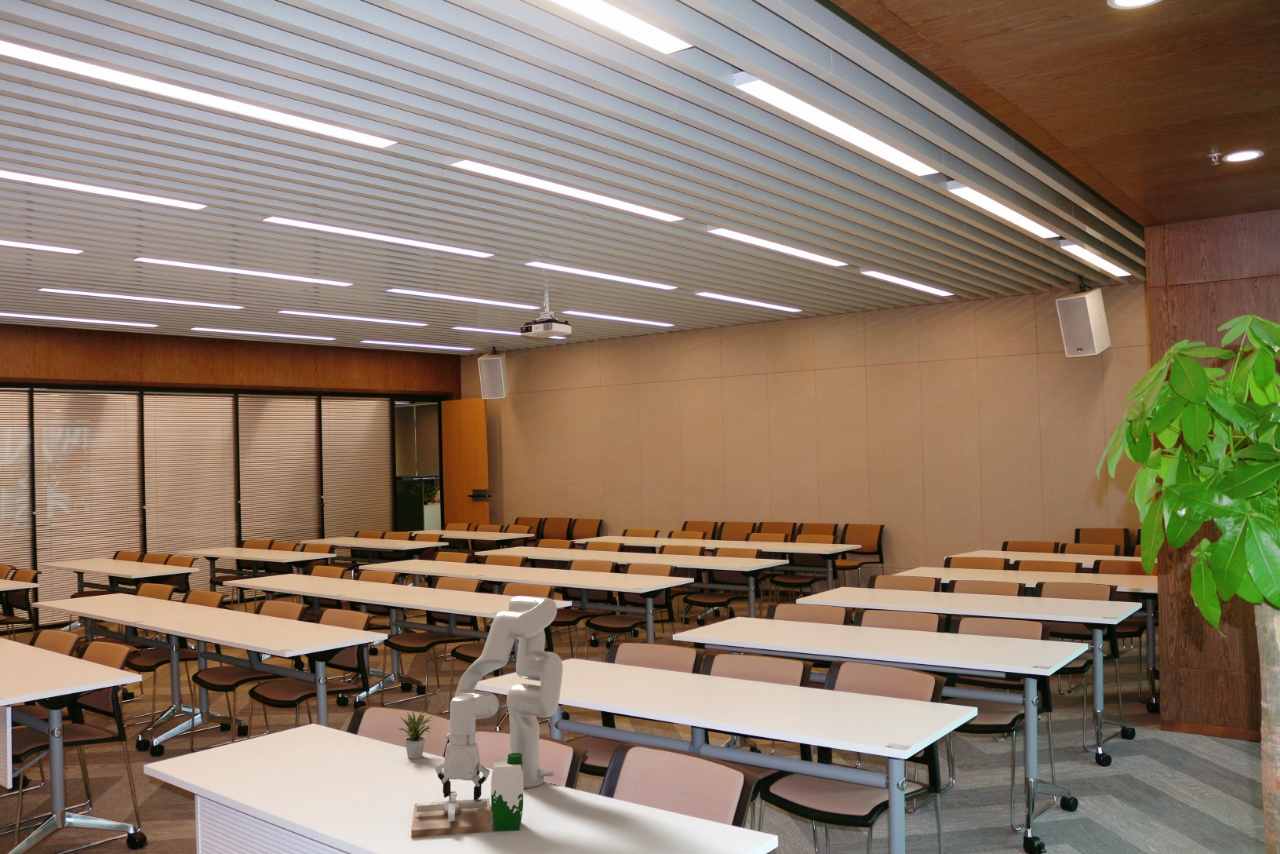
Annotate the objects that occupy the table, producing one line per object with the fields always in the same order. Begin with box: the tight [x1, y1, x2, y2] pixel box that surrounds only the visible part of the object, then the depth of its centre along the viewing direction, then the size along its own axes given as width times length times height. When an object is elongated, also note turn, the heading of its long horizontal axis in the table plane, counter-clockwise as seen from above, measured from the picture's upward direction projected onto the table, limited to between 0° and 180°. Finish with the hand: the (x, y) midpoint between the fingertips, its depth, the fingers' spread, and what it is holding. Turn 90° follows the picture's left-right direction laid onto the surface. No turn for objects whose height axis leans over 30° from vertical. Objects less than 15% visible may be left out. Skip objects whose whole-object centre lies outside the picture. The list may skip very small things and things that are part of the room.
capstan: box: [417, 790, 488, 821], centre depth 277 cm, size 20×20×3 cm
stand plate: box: [410, 798, 493, 839], centre depth 276 cm, size 22×22×2 cm
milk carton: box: [490, 753, 524, 832], centre depth 272 cm, size 9×9×20 cm
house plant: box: [397, 709, 438, 760], centre depth 339 cm, size 14×14×16 cm
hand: (462, 797), depth 284 cm, fingers open, 9 cm apart
